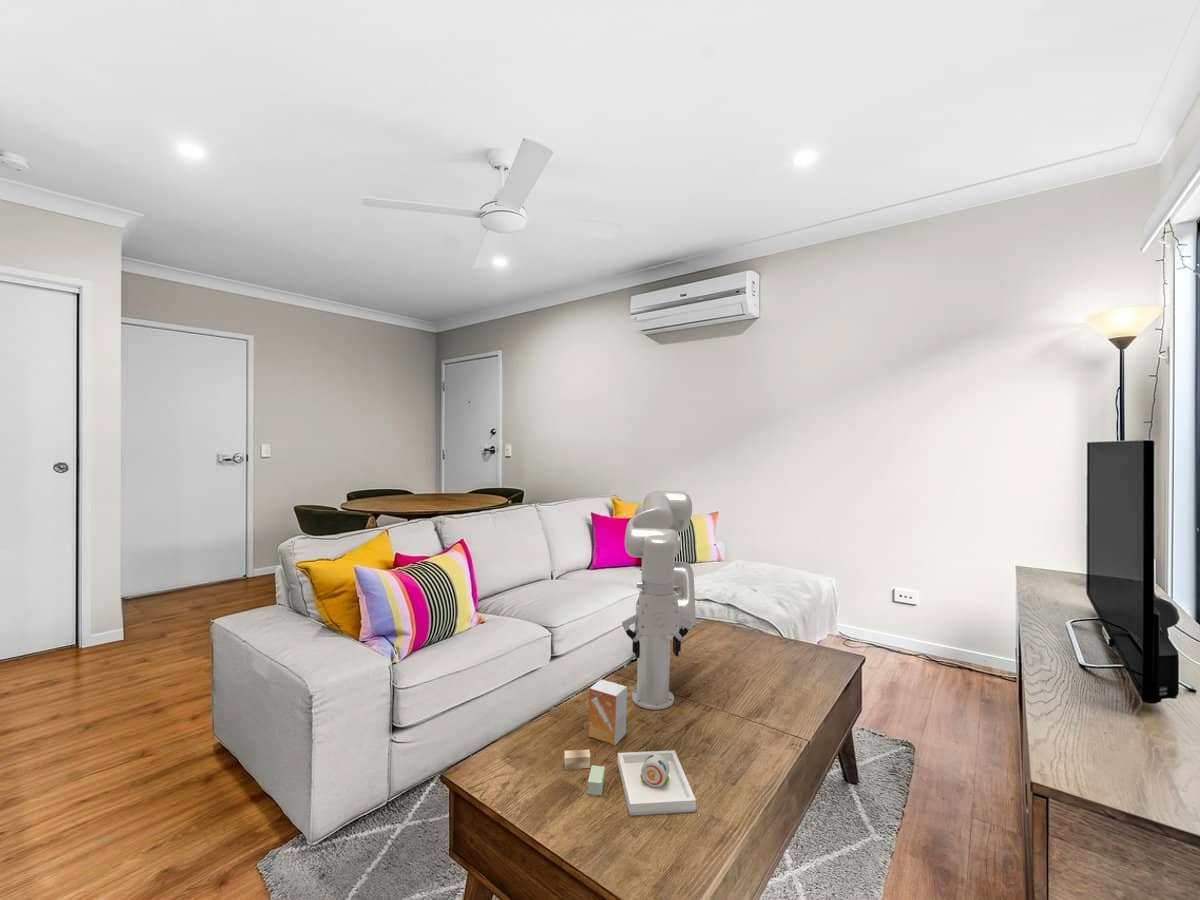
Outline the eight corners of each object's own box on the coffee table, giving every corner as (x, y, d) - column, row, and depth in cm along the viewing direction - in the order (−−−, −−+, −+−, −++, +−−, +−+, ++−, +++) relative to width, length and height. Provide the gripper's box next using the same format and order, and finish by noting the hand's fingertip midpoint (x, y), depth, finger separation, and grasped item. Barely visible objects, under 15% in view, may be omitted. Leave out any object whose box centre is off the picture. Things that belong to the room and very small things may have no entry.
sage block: (591, 778, 125) (591, 765, 125) (604, 779, 124) (604, 766, 124) (587, 795, 119) (587, 781, 119) (601, 796, 118) (601, 783, 118)
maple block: (564, 770, 127) (565, 758, 127) (564, 762, 130) (564, 750, 130) (590, 769, 128) (590, 756, 128) (589, 761, 131) (589, 749, 131)
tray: (617, 763, 130) (617, 752, 130) (674, 760, 132) (674, 750, 132) (630, 815, 112) (630, 804, 112) (695, 811, 114) (696, 800, 114)
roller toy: (665, 793, 119) (666, 767, 119) (638, 785, 121) (638, 760, 121) (670, 781, 123) (671, 756, 123) (643, 774, 125) (644, 749, 125)
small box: (587, 737, 141) (588, 687, 141) (599, 725, 147) (600, 678, 146) (615, 746, 137) (616, 695, 137) (626, 734, 143) (627, 685, 142)
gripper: (625, 593, 127) (623, 663, 128) (697, 591, 129) (694, 660, 130) (620, 582, 134) (619, 649, 136) (688, 581, 136) (686, 646, 138)
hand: (656, 654), depth 133 cm, fingers open, 9 cm apart
